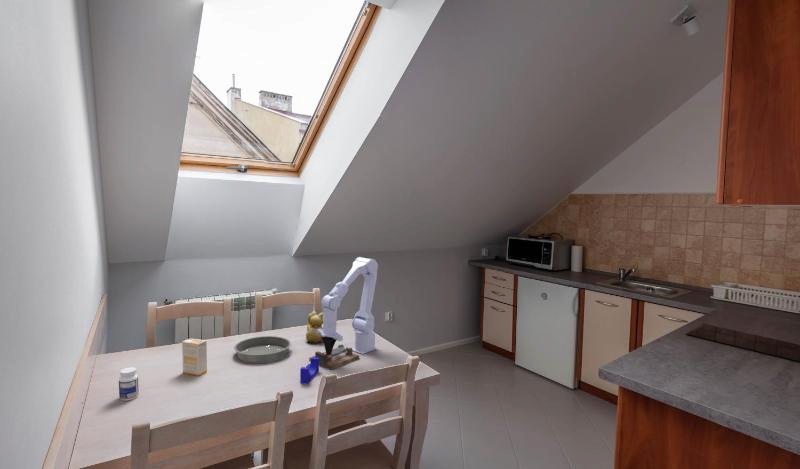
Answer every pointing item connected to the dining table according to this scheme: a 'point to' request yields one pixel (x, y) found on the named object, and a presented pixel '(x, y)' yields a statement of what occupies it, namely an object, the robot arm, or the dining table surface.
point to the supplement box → (194, 356)
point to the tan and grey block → (336, 351)
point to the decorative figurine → (314, 327)
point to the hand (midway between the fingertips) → (328, 353)
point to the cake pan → (262, 349)
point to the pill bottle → (128, 384)
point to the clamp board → (336, 358)
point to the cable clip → (309, 371)
